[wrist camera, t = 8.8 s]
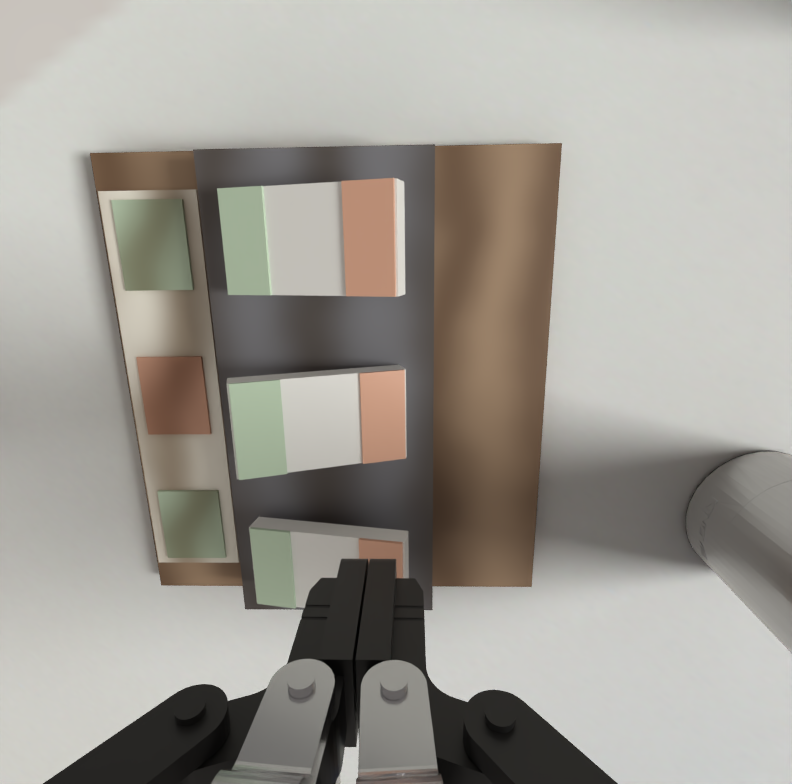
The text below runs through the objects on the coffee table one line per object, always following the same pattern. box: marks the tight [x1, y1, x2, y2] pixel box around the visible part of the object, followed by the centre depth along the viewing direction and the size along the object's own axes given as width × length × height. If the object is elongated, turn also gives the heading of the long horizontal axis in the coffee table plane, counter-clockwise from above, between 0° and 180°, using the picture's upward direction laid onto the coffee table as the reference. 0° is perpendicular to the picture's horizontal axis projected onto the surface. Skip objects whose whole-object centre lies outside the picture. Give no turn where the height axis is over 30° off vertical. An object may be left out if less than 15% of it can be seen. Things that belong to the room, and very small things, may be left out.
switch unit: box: [90, 143, 562, 610], centre depth 30 cm, size 26×28×5 cm
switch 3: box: [249, 517, 409, 609], centre depth 29 cm, size 9×5×1 cm, turn 91°
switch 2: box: [226, 365, 407, 480], centre depth 26 cm, size 9×5×1 cm, turn 91°
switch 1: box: [217, 178, 405, 297], centre depth 24 cm, size 9×5×1 cm, turn 91°
